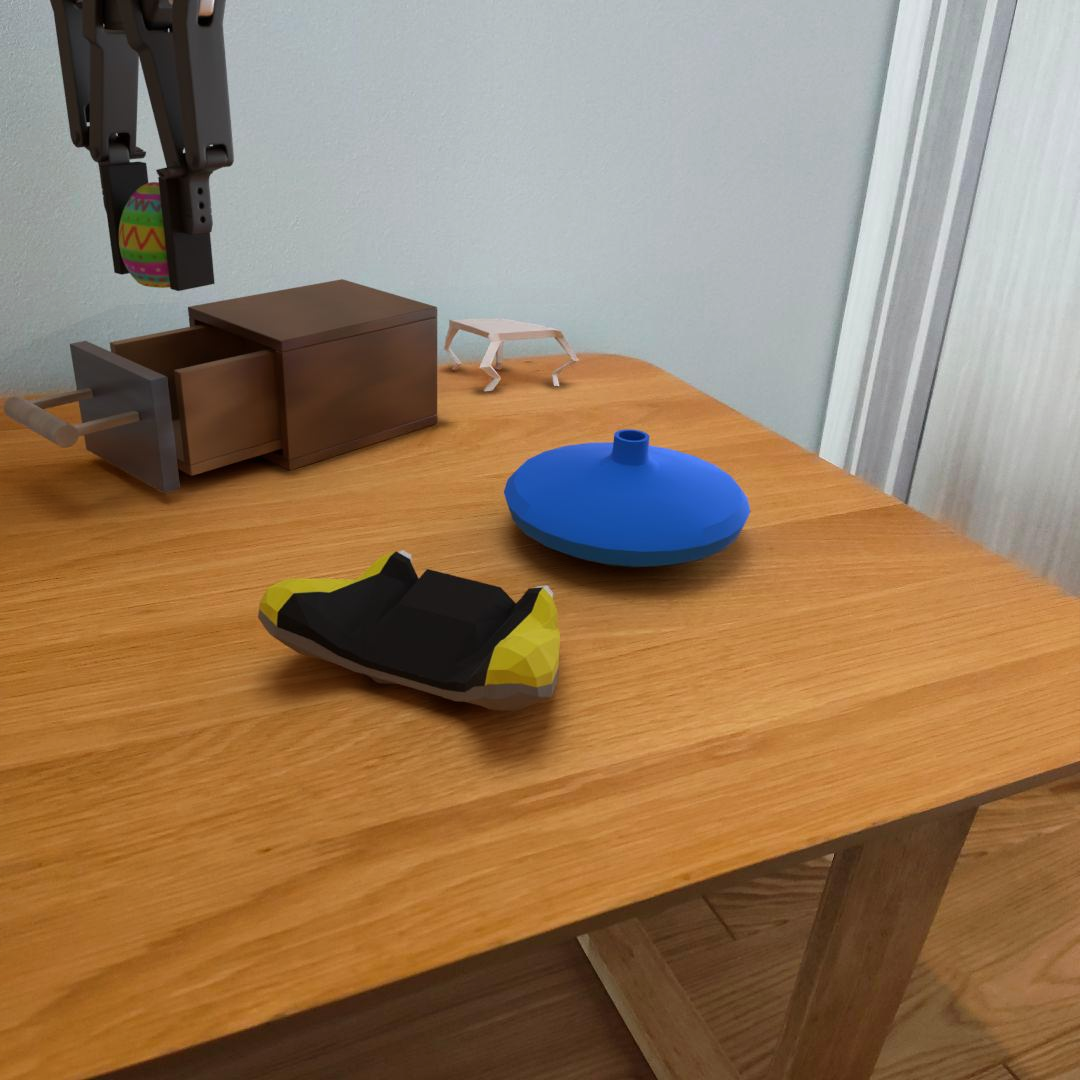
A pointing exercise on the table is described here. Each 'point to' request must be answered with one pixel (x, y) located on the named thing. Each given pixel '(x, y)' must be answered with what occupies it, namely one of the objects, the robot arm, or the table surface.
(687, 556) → the vase
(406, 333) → the cabinet
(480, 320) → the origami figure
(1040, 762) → the table surface
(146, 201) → the egg
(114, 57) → the robot arm
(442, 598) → the black and yellow shoe
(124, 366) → the drawer
